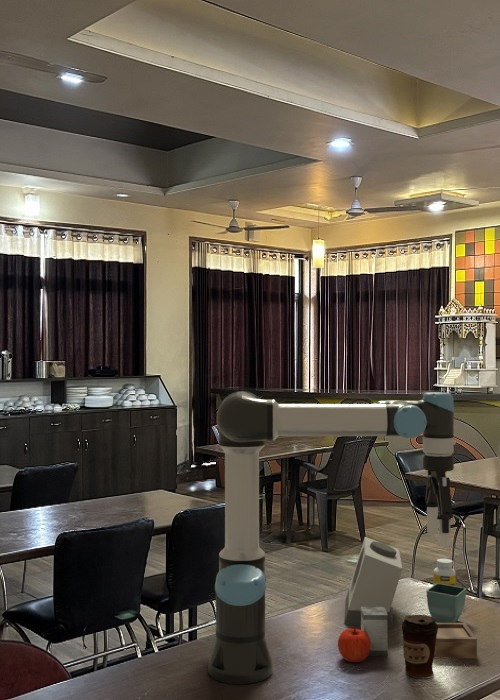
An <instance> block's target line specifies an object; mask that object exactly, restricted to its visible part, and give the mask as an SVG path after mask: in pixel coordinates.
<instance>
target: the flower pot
mask: <svg viewBox="0 0 500 700" xmlns="http://www.w3.org/2000/svg"><path fill="white" fill-rule="evenodd" d="M466 596H467V587H460V586H457V585H456V586H451V585H445V584H439V583H436V584H435V585H433V584H432V586H430V587H429V588H428V589H426V601H427V608H428V612H429V614H430V616H431V617H433V618H435V619H436V621H435V622H436V623H457V622H458V620H459V619H460V617H461V615H462V613H463V611H464V608H465V604H466V603H465V601H466Z"/></svg>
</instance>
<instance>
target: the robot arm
mask: <svg viewBox="0 0 500 700" xmlns="http://www.w3.org/2000/svg"><path fill="white" fill-rule="evenodd" d="M454 421H455V406H454V396H453V395H452V394H451V393H449V392H445V391H444V392H439V391H436V392H435V391H434V392H433V391H431V392H428V391H427V392H424V393H423V394H422V398H421V399H420V400H399V399H398V400H396V399H395V400H391V399H387V400H379V401H377V402H375V403H371V404H369V403H366V404H365V403H361V404H360V403H358V404H357V403H353V404H352V403H350V404H349V403H342V404H341V403H335V404H334V403H318V404H317V403H278V402H277V401H276V400H275V399H263V398H262V399H261V398H259V397H258V396H257V395H256V394H254V393H252V392H250V391H235V392H231V394H228V395H227V396H226V397H225V398H224V399H223V400H222V402H221V404H220V406H219V407H218V410H217V414H216V424H217V427H218V447H220V449H222V451H223V452H224V503H225V504H224V515H225V516H224V548H222V549H221V550H220V552H219V554H218V559H219V560H218V572H217V573H216V574H217V575H216V577H215V583H214V591H215V640H214V641H213V642H214V643H213V646H212V649H211V652H210V655H209V659H208V663H207V664H208V668H207V670H208V675H209V676H210V677H211V678H212V679H214V680H216V681H219V682H222V683H226V684H232V685H247V684H254V683H258V682H261V681H262V682H263V681H264V680H267V679H268V678H269V677H270V676H272V673H273V671H274V669H273V667H274V666H273V658H272V656H271V652H270V649H269V646H268V642H267V639H266V590H267V589H266V588H267V577H266V552H265V551H264V550H263V549H262V548H261V547H260V452H261V450H262V449H264V447H265V446H266V442H267V441H270V442H271V441H276V439H277V438H278V437H402V438H405V439H414V438H417V437H419V436H421V435H422V452H423V453H424V454H423V456H422V468H423V470H424V471H427V481H426V488H425V489H426V490H425V499H424V502H425V504H426V506H427V507H426V532H427V533H428V534H430V533H431V534H438V546H439V547H451V519H453V518H454V514H453V506H452V495H451V486H450V485H451V484H450V483H451V482H450V481H451V479H450V476H449V477H447V474H446V473H447V472H452V471H453V470H454V468H455V457H454V455H453V454H454V453H455V452H454V451H455V450H454V445H456V444H457V442H456V440H455V439H454V430H455V429H454V424H455V422H454Z"/></svg>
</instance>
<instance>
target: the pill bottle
mask: <svg viewBox="0 0 500 700" xmlns="http://www.w3.org/2000/svg"><path fill="white" fill-rule="evenodd" d="M453 564H454V562H453V560H452V559H450V558H437V559H436V566H437V567H435V568H434V569H433V584H432V586H433V585H435V584H436V583H439V584H445V585H451V586H456V587H457V585H456V582H457V581H456V580H457V579H456V578H457V577H456V576H457V573H456V570H455V569H454V568H453V566H454V565H453Z"/></svg>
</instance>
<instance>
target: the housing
mask: <svg viewBox="0 0 500 700" xmlns="http://www.w3.org/2000/svg"><path fill="white" fill-rule="evenodd" d="M387 620H388V614H387V612H386V610H385V608H384V607H361V625H360V630H363V631H364V632H365V633H366V634H367V635H368V636H369V638H370V642H371V647H370V651H369V654H368V656H388V655H389V651H388V626H387Z"/></svg>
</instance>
